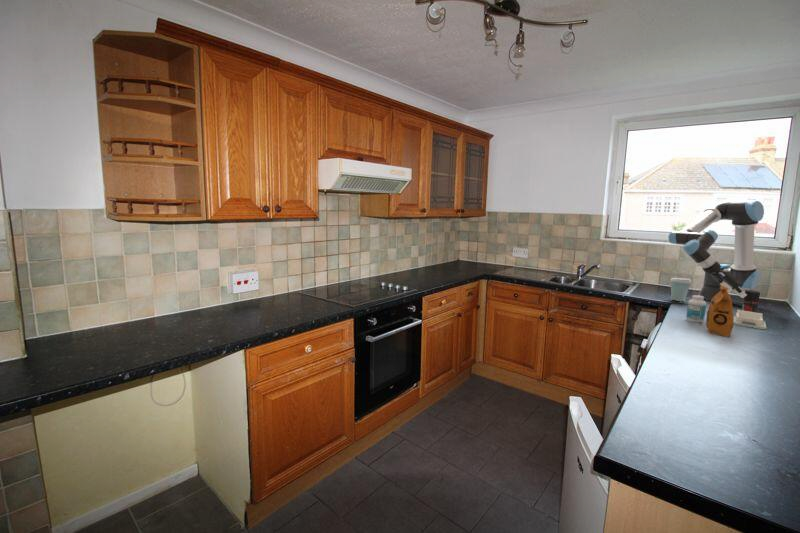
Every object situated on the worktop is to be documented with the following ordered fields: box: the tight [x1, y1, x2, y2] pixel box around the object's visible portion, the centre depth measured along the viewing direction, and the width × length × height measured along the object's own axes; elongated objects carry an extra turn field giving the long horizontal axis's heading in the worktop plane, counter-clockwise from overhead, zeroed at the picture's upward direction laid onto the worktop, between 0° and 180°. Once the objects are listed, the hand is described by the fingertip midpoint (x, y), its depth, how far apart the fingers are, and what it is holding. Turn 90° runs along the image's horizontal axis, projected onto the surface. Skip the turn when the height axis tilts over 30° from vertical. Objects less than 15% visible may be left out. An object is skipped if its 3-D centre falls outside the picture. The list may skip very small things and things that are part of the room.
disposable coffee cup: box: [670, 277, 692, 302], centre depth 241 cm, size 11×11×15 cm
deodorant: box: [741, 289, 761, 313], centre depth 207 cm, size 6×6×15 cm
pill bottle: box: [685, 294, 707, 324], centre depth 199 cm, size 8×7×14 cm
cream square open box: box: [733, 309, 767, 331], centre depth 197 cm, size 14×13×5 cm
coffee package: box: [705, 286, 735, 338], centre depth 181 cm, size 10×12×22 cm
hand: (737, 293), depth 207 cm, fingers open, 13 cm apart
